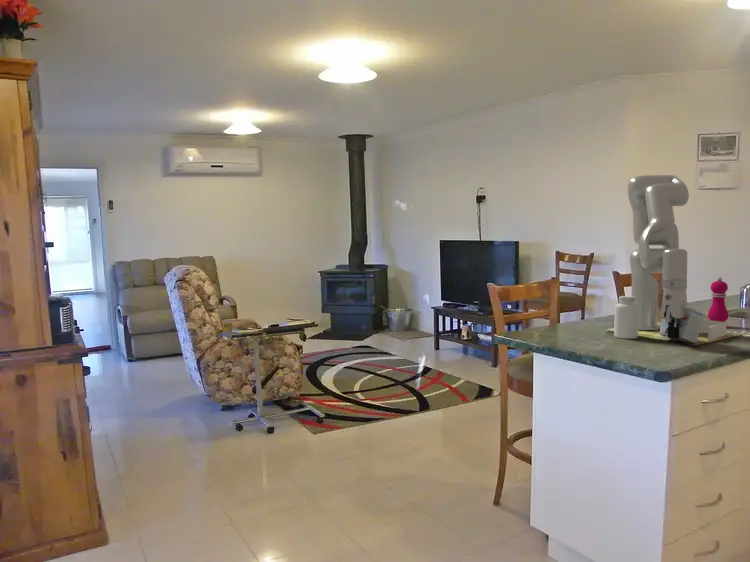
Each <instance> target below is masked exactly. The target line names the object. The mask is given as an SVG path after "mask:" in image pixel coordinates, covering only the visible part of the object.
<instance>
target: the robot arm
mask: <svg viewBox="0 0 750 562" xmlns="http://www.w3.org/2000/svg"><path fill="white" fill-rule="evenodd" d="M627 196H628V201H629V203H630V206H631V209H632V228H633V229H632V230H633V231H632V232H633V241H634V242H635V244H637V245H638V249H635V250H633V252H632V253H631V254H630V256H629V264H630V265H629V266H630V271H631V272H630V273H631V295H630V296H633V297H635V301H634V304H636V305H637V306H638V331H646V330H654V331H660V330H659V329H661V324H658V306H659V302H658V301H659V283H658V281H657V280H656V278H655V277H654V276H653V274H661V276H662V277H661V278H662V279H661V280H662V281H661V282H662V284H661V286H662V287H661V289H662V290H663V294H662V295H663V296H662V304H661V305H662V306H661V313H662V315H661V316H662V317H663V319H664V318H666V322H667V326H668V336H667V339H673V340H679V339H678V338H679V327H680V318H685V317H686V314H687V308H688V298H687V297H688V295H687V289H688V251H687V249H684V248H680V240H679V239H680V237H679V229H678V226H677V224H675V223H676V221H675V220H676V219H675V214H674V207H683V206H685V205H687V203H688V202H689V198H690V195H689V190H688V187H687V185H686V183H685V182H684V181H683V180H682V179H680V178H679V177H678V176H677V175H672V174H655V175H654V174H653V175H652V174H651V175H650V174H649V175H648V174H645V175H644V174H643V175H638V176H635V177H634V176H633V177H632V178H631V179H630V180H629V182H628V184H627ZM650 246H661V247H663V248H658V247H657V248H650Z"/></svg>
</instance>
